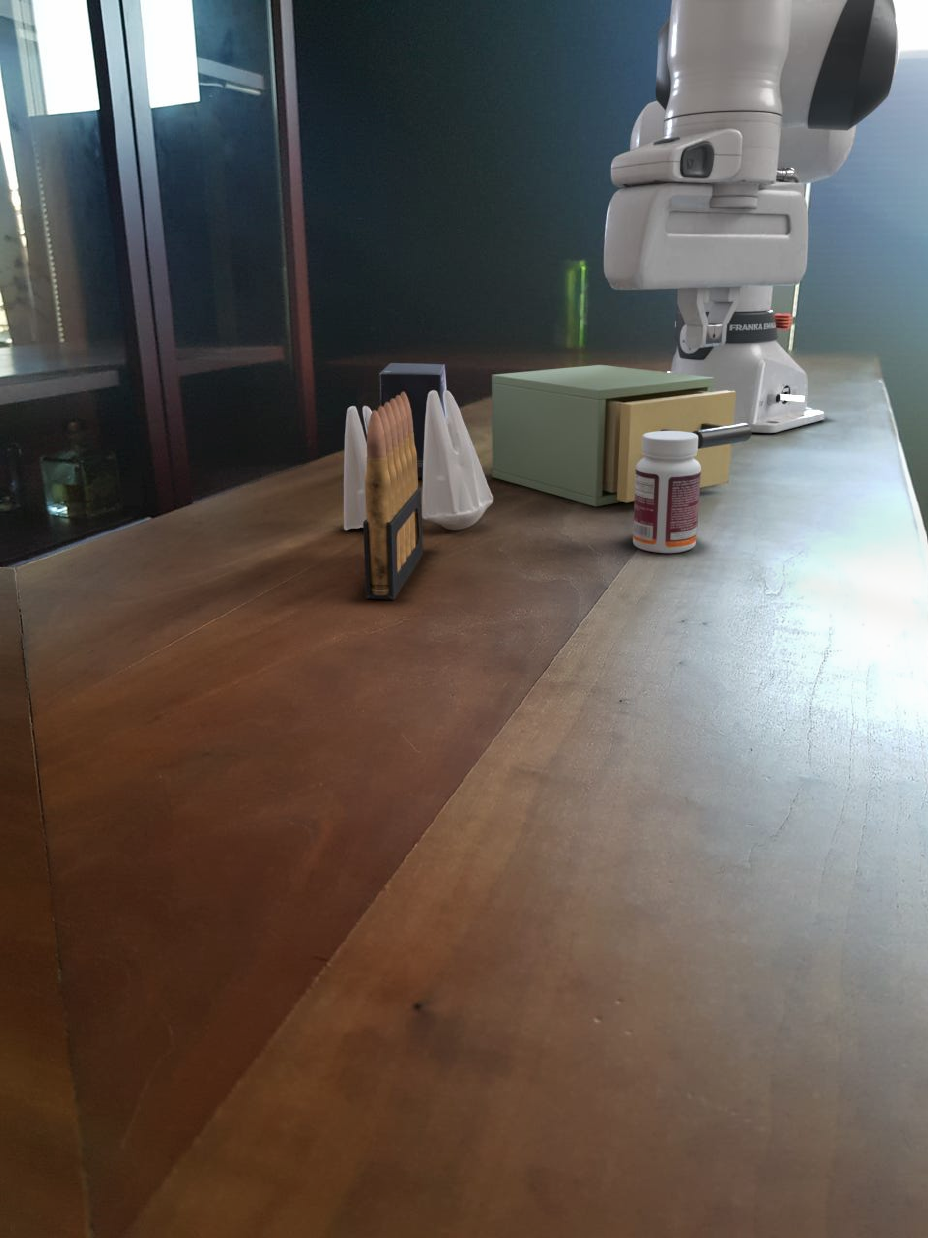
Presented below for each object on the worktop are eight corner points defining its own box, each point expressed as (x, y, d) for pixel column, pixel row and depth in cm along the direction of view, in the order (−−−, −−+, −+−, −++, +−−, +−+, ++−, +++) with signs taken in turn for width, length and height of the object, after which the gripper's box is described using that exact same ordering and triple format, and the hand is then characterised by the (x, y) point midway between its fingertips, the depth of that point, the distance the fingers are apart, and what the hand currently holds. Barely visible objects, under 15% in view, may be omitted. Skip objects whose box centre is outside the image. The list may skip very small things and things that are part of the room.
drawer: (772, 492, 84) (781, 396, 81) (668, 514, 77) (674, 411, 74) (620, 458, 99) (624, 377, 96) (522, 474, 92) (523, 387, 89)
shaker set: (494, 522, 79) (494, 386, 75) (487, 535, 75) (486, 393, 71) (355, 518, 81) (348, 385, 77) (341, 531, 77) (333, 392, 73)
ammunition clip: (399, 552, 71) (393, 389, 67) (423, 552, 71) (418, 389, 67) (365, 599, 61) (356, 412, 57) (393, 600, 61) (385, 412, 57)
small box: (445, 479, 95) (443, 371, 91) (380, 480, 95) (375, 372, 91) (449, 458, 105) (447, 361, 101) (390, 459, 105) (386, 362, 101)
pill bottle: (697, 538, 74) (705, 430, 71) (694, 556, 69) (702, 441, 66) (635, 535, 75) (640, 428, 72) (628, 552, 70) (634, 439, 68)
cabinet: (706, 485, 91) (714, 377, 87) (595, 506, 84) (599, 390, 80) (597, 460, 103) (600, 364, 99) (492, 477, 96) (491, 374, 92)
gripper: (773, 171, 82) (757, 338, 86) (594, 159, 71) (587, 351, 76) (836, 164, 77) (816, 342, 81) (654, 150, 66) (644, 356, 71)
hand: (705, 346), depth 78 cm, fingers closed
